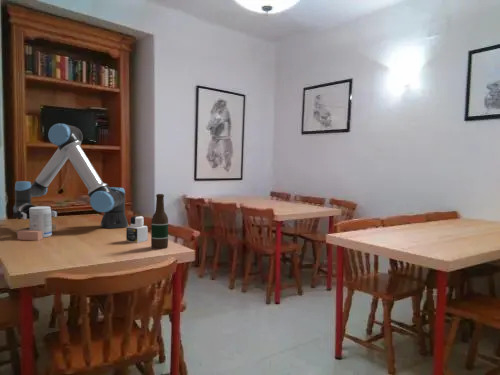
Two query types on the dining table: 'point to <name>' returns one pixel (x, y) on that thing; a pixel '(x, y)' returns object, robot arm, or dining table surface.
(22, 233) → the block
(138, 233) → the medicine bottle
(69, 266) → the dining table surface
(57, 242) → the dining table surface
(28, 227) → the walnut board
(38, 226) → the supplement tub
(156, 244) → the beer bottle
